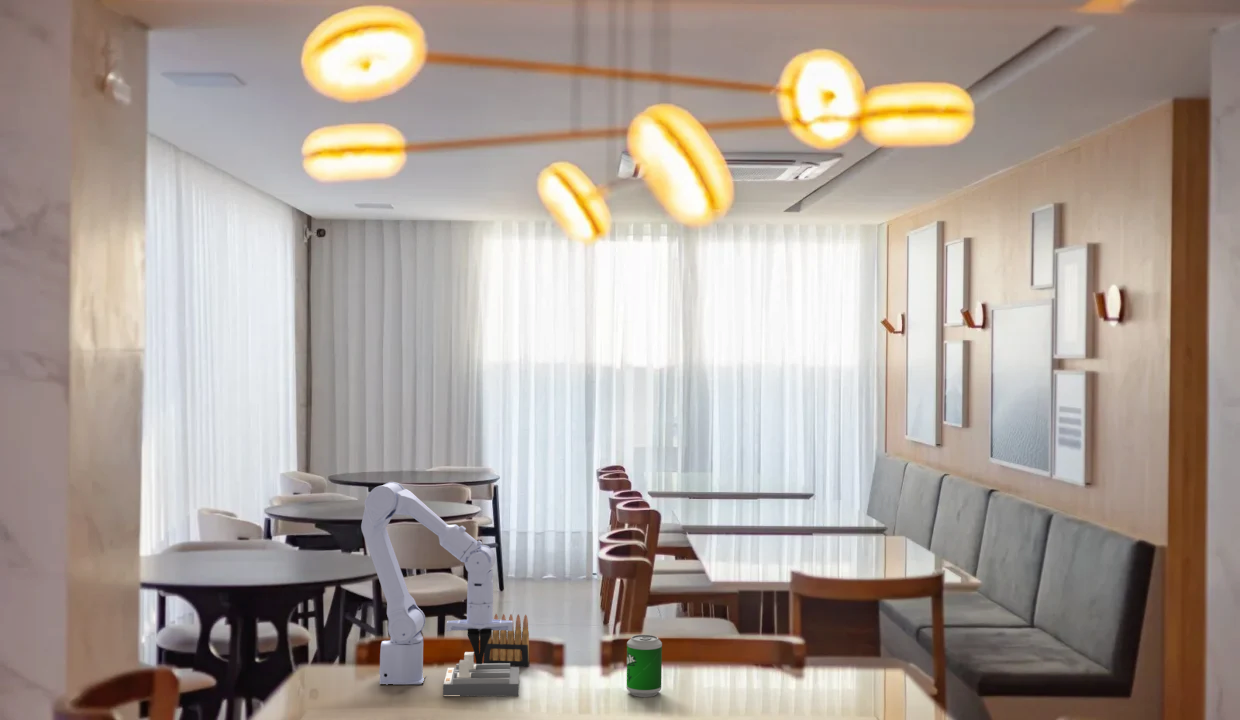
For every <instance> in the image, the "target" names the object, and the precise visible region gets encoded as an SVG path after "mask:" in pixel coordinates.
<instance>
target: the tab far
mask: <svg viewBox="0 0 1240 720" xmlns="http://www.w3.org/2000/svg"><path fill="white" fill-rule="evenodd" d="M463 656H464V657H463V660H469V670H476V665H474V664H475V654H474V651H465V652H464V655H463Z"/></svg>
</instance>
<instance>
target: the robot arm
mask: <svg viewBox="0 0 1240 720" xmlns="http://www.w3.org/2000/svg"><path fill="white" fill-rule="evenodd" d="M393 515H399V516H400V515H402V516H410V517H412V518H413V519H415V521H417V522H419V524H421V525H422V526H424V527H425V528H427V529H428V530H429V531H431V532H432V533H434V534H435V535H436V536H437V538H438V541H439V545H440V546H441V547H442V548H444V550H446V551H447V552H448V553H449V554H451V555H452V556H453V557H455V558H456V559H457V560H458V561H460V562H461V563H464V567H465V570H466V571H467V585H466V586H467V591H466V595H467V597H466V619H459V620H458V619H457V620H455V619H454V620H447V621H446V632H451V631H453V632H454V631H456V632H457V631H458V632H459V631H467V638H468V640H469V641H470V644H471V646H472V649H473V652H474V659H475V664H483V662H484V651H485V648H486V646H487V643H488V641H489V639H490V637H491V633H493V630H499V631H500V630H506V631H507V632H508V631H512V630H513V627H514V620H513V621H510V620H509V619H506V620H501V619H498V620H494V580H493V577H494V573H493V572H494V570H493V569H492V568H494V566H495V563H496V554H495V551H493V550H492V548H491V547H490V546H489V545H486V544H483V542H482V541H481V540H479V539H478V540H476V539H475V538H474V537H473V536H472V535H470V534H469V533H468V532H466V530H467V528H466V527H465V526H464V525H460V526H459V525H458V524H448V523H447V522H445V520H443V519H442V518H441V517H440V516H438V514H436V512H434V511H433V510H432V509H431V508H429V507H428V506H427V505H426V504H425V503H424V502H423V501H422V500H421V499H419V498H418V496H416V495H415V494H414V493H413V492H412V491H410V490H409V489H407V488H404V486H403V485H402V484H401V483H398V482H396V481H389V482H386V483H384V484H383V485H378V486H376V487H374V488H372V489H371V491H370V492H369V493H368V494H367V496H366V498H365V499H364V510H363V515H362V519H361V520H362V521H361V525H360V528H361V533H362V535H363V538H364V541H365V543H366V546H367V549H368V552H369V554H370V557H371V560H372V563H373V566H374V569H375V572H376V574H377V578H378V580H379V583H380V586H381V590H382V591H383V595H384V598H385V600H386V604H387V605H386V615H387V619H388V624H387V625H388V626H387V630H388V631H387V632H388V634H389V637H390V640H382V641H381V643H380V650H379V651H380V653H379V673H378V674H379V683H378V684H379V685H380V684H386V685H387V686H388V684H393V685H422V684H421V683H423V684H424V682H423V681H425V679H424V678H423V673H424V636H423V635H422V632H421V631H423V629H424V627H425V625H426V615H425V613H424V612H423V610H421V608H419V606H418V605H417V602H416V600H415V598H414V597H413V596H412V595H411V594H410V592H409V590H408V587H407V583H406V581H405V577H404V575H403V572H402V569H401V567H400V564H399V561H398V558H397V555H396V553H395V549H394V547H393V545H392V541H391V539H390V535H389V532H388V529H387V527H388V525H389V523H390V521H391V520H392V518H393ZM386 685H385V686H386Z"/></svg>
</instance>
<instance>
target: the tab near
mask: <svg viewBox="0 0 1240 720" xmlns="http://www.w3.org/2000/svg"><path fill="white" fill-rule="evenodd" d="M458 664H459V673H457V678H471V673H469V660H464V659H460V660H459V662H458Z"/></svg>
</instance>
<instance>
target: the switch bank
mask: <svg viewBox="0 0 1240 720" xmlns="http://www.w3.org/2000/svg"><path fill="white" fill-rule="evenodd" d="M455 665H456V666H455V667H447V668H446V673H445V676H444V680H443V684H442V696H443V695H460V696H459V697H510V696H511V697H512V696H513V697H514V696H515V697H517V696H518V697H519V693H520V691H519V690H520V687H519V686H520V684H519V683H520V667H519V666H510V663H497V664H483V663H482V664H476V663H474V665H476V670H469V673H471V678H457V673H459V663H456V664H455Z"/></svg>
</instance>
